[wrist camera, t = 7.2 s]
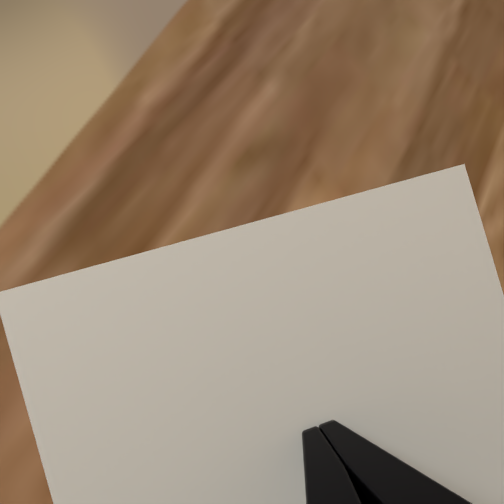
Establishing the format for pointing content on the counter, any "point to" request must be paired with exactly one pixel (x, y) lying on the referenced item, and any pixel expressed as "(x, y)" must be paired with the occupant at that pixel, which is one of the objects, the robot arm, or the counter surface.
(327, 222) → the carton flap
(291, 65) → the counter surface
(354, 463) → the robot arm
